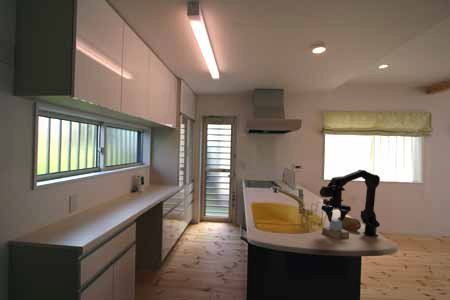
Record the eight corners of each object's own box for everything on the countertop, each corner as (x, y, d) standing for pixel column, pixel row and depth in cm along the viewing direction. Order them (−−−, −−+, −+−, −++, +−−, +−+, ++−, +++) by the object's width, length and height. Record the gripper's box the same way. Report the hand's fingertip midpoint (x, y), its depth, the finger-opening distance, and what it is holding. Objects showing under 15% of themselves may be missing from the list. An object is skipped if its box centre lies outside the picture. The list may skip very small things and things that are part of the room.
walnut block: (335, 232, 157) (335, 226, 157) (348, 238, 147) (349, 231, 147) (322, 233, 154) (322, 227, 154) (334, 239, 144) (334, 233, 144)
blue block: (335, 228, 153) (336, 219, 154) (341, 230, 149) (342, 221, 149) (329, 228, 152) (329, 219, 152) (335, 231, 147) (335, 221, 147)
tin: (336, 226, 168) (337, 215, 168) (338, 226, 170) (338, 214, 170) (359, 232, 157) (360, 220, 157) (361, 231, 160) (361, 219, 160)
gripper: (338, 194, 161) (337, 217, 161) (316, 195, 155) (315, 218, 155) (352, 197, 150) (351, 222, 150) (328, 198, 145) (327, 223, 145)
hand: (335, 221), depth 151 cm, fingers open, 9 cm apart
